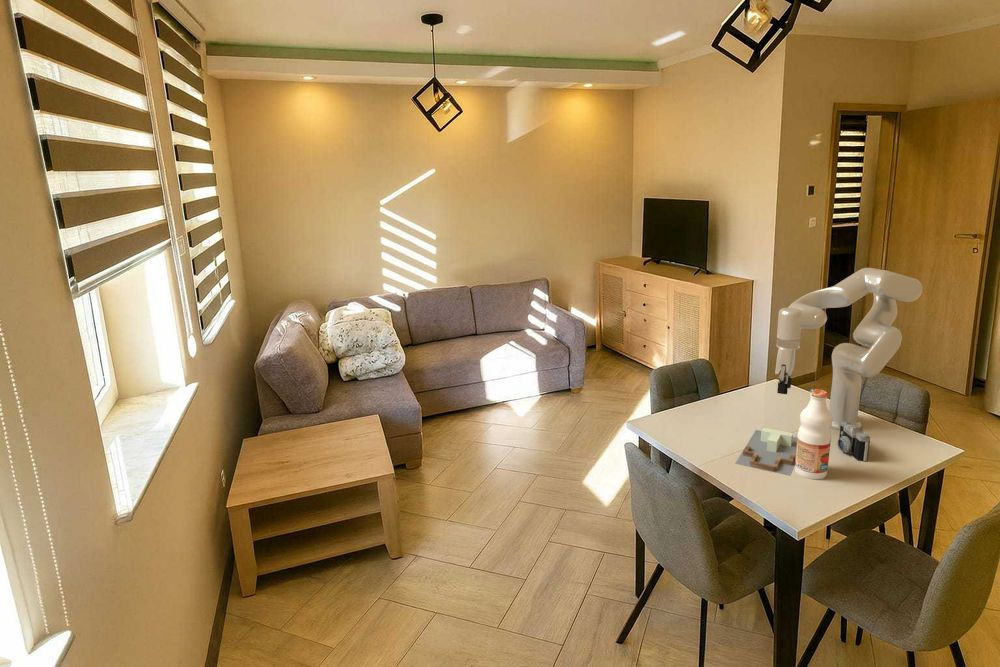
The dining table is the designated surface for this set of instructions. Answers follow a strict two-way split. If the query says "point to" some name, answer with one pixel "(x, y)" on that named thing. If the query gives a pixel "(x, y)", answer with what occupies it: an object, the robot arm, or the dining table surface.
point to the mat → (769, 454)
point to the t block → (776, 438)
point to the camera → (854, 441)
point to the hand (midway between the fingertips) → (784, 390)
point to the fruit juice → (814, 438)
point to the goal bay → (766, 466)
